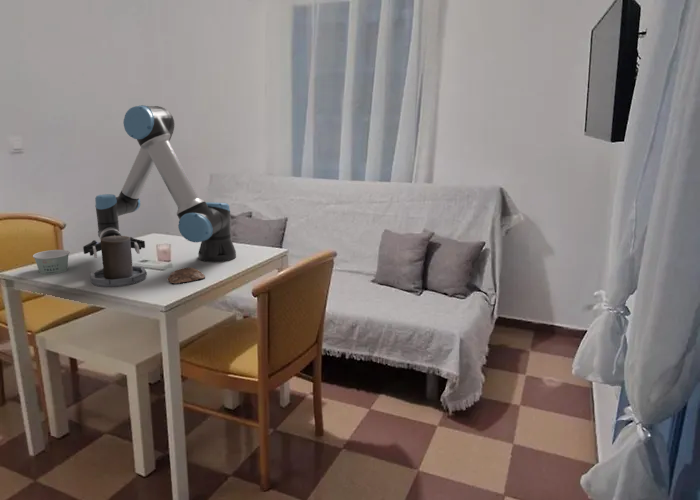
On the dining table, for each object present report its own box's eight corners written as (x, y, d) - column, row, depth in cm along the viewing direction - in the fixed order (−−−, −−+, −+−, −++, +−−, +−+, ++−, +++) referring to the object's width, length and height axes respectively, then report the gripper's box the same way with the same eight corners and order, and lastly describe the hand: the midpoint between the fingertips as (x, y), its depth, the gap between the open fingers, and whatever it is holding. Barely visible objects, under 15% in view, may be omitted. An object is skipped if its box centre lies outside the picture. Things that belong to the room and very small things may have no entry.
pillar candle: (101, 280, 178) (96, 238, 175) (107, 272, 187) (103, 232, 184) (131, 279, 181) (127, 237, 177) (135, 271, 190) (132, 231, 186)
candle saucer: (156, 274, 190) (156, 268, 190) (123, 289, 173) (122, 282, 173) (115, 269, 195) (115, 263, 194) (79, 283, 178) (78, 277, 178)
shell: (162, 278, 187) (161, 268, 187) (196, 272, 195) (196, 263, 194) (172, 286, 178) (171, 276, 177) (207, 280, 185) (207, 270, 185)
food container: (35, 277, 185) (33, 259, 183) (34, 268, 195) (32, 252, 193) (73, 272, 191) (71, 255, 190) (70, 264, 201) (68, 248, 199)
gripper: (147, 245, 204) (155, 258, 186) (75, 252, 192) (78, 266, 174) (145, 226, 202) (154, 238, 184) (73, 232, 190) (75, 245, 172)
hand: (117, 252), depth 179 cm, fingers open, 13 cm apart
